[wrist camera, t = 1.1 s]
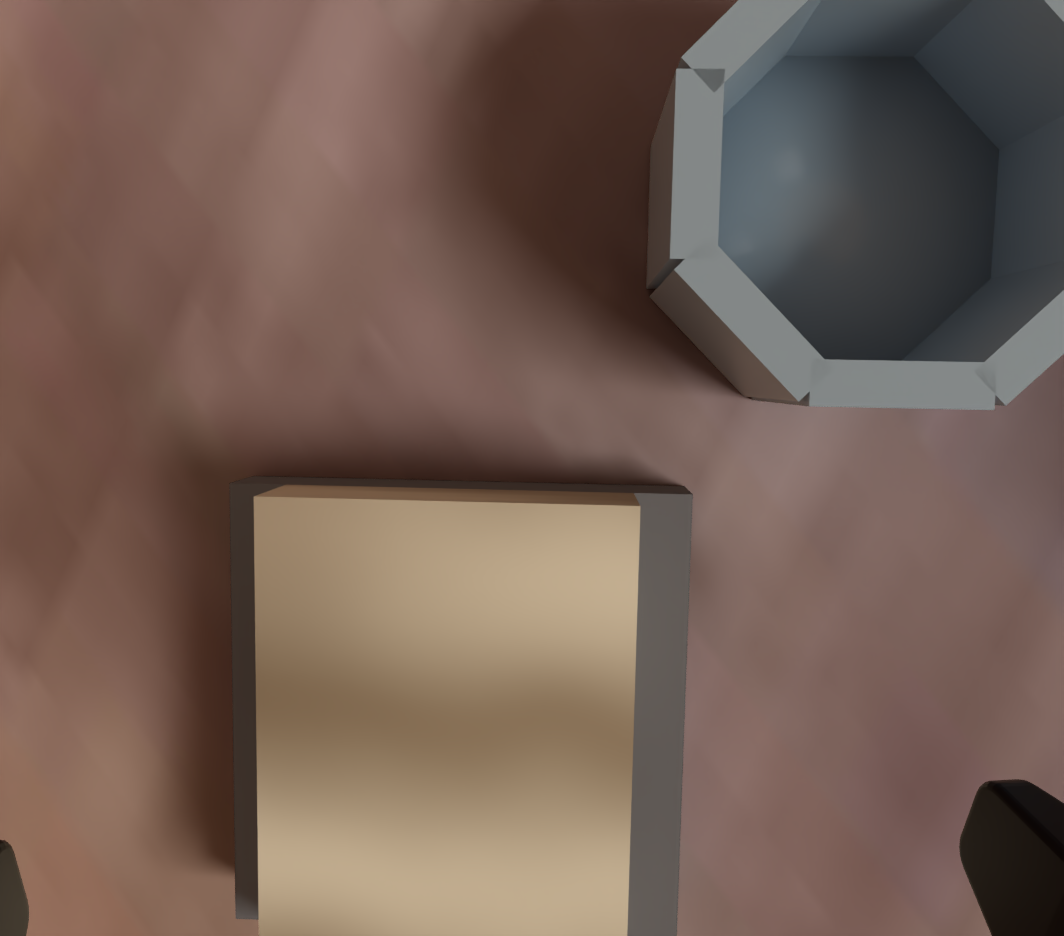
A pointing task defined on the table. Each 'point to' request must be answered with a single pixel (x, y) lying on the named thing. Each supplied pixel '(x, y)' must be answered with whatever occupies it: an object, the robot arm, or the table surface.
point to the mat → (654, 685)
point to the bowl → (866, 200)
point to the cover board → (444, 710)
